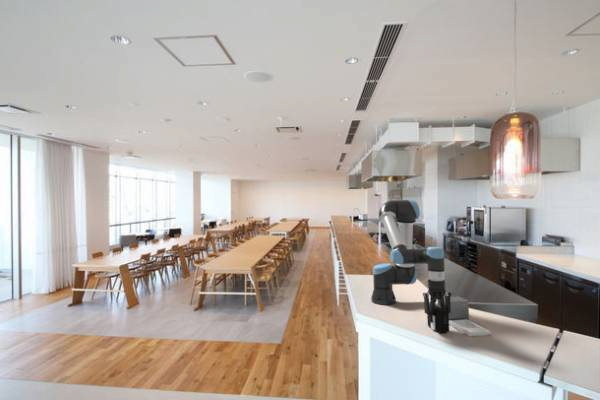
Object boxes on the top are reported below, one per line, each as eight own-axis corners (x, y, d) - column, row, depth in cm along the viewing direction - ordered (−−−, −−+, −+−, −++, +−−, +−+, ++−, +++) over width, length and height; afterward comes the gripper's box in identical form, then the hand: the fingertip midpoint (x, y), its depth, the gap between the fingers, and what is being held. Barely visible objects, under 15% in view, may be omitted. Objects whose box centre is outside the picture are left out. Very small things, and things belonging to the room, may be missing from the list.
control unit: (435, 317, 163) (434, 297, 163) (459, 316, 165) (458, 295, 165) (446, 324, 153) (445, 302, 154) (472, 322, 155) (471, 300, 155)
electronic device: (441, 333, 141) (441, 311, 141) (427, 325, 151) (426, 305, 151) (449, 332, 142) (448, 310, 142) (434, 324, 152) (434, 304, 152)
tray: (448, 324, 153) (448, 320, 153) (466, 322, 154) (466, 319, 154) (469, 336, 137) (469, 332, 137) (490, 335, 139) (490, 331, 139)
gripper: (423, 282, 142) (425, 333, 142) (458, 280, 145) (460, 330, 144) (415, 278, 150) (416, 326, 149) (448, 276, 152) (450, 324, 151)
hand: (438, 328), depth 146 cm, fingers closed on electronic device, 5 cm apart
